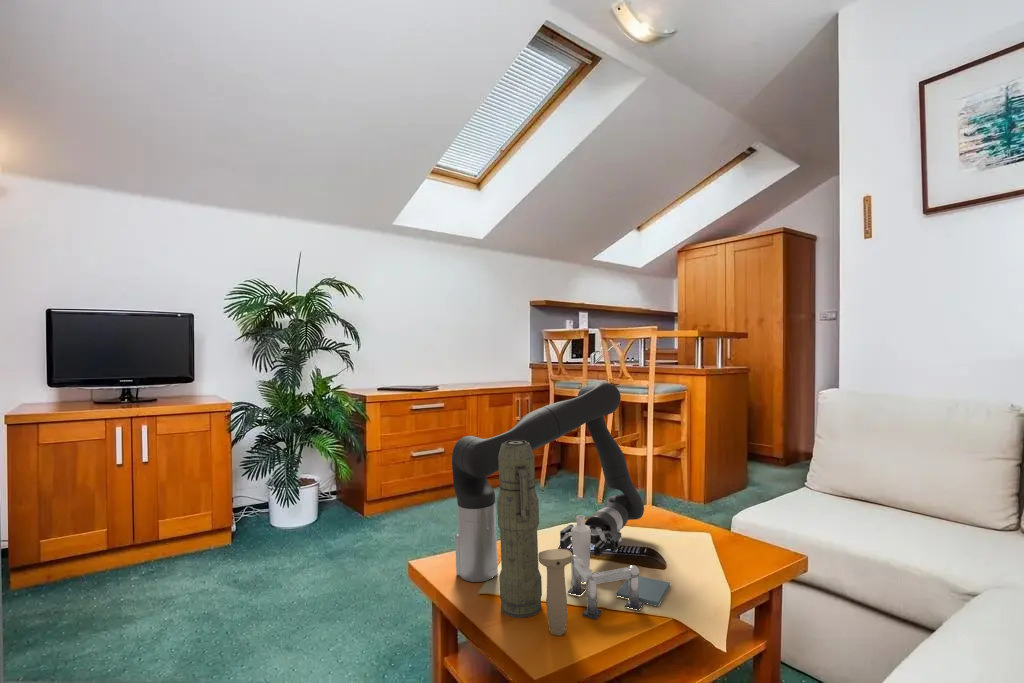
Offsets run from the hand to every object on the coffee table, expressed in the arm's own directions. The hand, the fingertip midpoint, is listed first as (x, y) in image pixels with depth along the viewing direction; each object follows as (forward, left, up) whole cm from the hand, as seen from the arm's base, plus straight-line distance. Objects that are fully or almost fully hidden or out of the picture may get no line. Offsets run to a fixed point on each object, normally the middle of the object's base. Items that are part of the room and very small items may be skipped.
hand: (578, 548), depth 119 cm
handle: (+4, -20, -9) cm, 22 cm away
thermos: (-7, -15, -9) cm, 19 cm away
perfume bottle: (0, +2, -9) cm, 9 cm away
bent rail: (+7, -8, -8) cm, 13 cm away
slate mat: (+14, +3, -8) cm, 17 cm away
